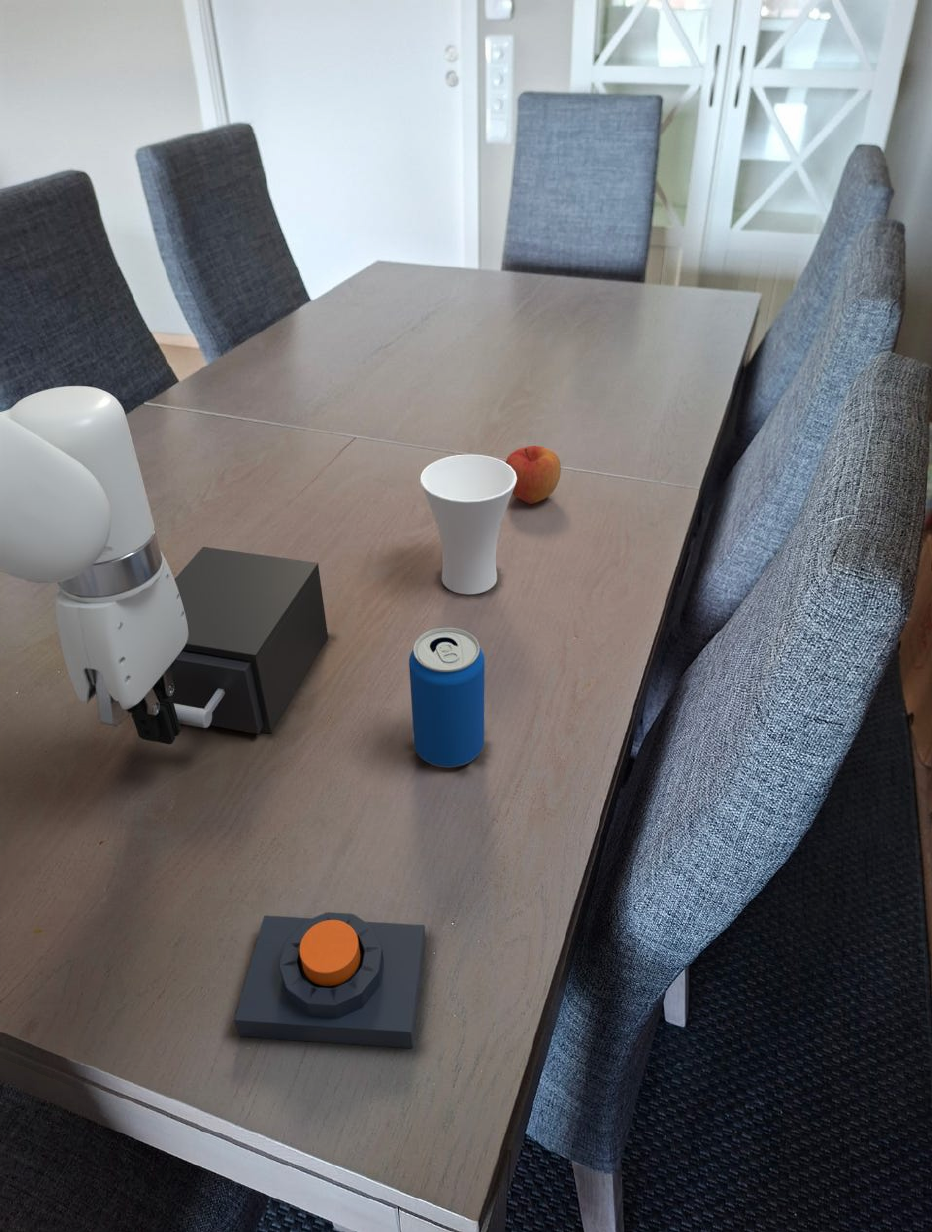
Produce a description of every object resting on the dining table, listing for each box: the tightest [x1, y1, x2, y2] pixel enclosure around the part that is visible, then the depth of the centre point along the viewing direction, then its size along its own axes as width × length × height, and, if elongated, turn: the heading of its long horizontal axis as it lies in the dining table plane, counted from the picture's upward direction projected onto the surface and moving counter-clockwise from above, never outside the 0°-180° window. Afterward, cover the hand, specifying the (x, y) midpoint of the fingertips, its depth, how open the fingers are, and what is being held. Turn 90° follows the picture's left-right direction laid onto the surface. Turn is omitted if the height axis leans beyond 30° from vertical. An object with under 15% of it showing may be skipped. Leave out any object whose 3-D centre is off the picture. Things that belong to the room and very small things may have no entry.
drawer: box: [170, 650, 264, 735], centre depth 84 cm, size 18×12×8 cm, turn 166°
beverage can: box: [408, 627, 486, 768], centre depth 78 cm, size 6×6×12 cm
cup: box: [419, 453, 517, 595], centre depth 98 cm, size 10×10×14 cm
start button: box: [299, 920, 360, 986], centre depth 60 cm, size 4×4×2 cm
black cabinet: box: [174, 546, 329, 734], centre depth 87 cm, size 15×13×10 cm
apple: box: [505, 445, 562, 505], centre depth 115 cm, size 7×7×8 cm
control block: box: [233, 911, 427, 1049], centre depth 62 cm, size 12×8×4 cm, turn 86°
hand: (160, 735), depth 75 cm, fingers closed
